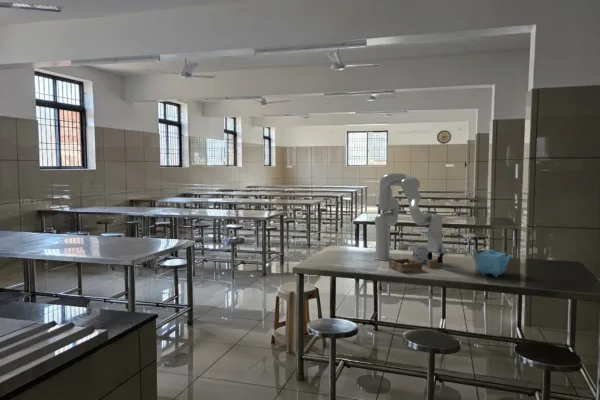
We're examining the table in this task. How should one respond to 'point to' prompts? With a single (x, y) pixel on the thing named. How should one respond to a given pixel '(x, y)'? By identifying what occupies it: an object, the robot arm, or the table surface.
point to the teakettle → (491, 262)
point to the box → (405, 265)
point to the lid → (436, 265)
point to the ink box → (420, 254)
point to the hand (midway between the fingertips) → (434, 261)
